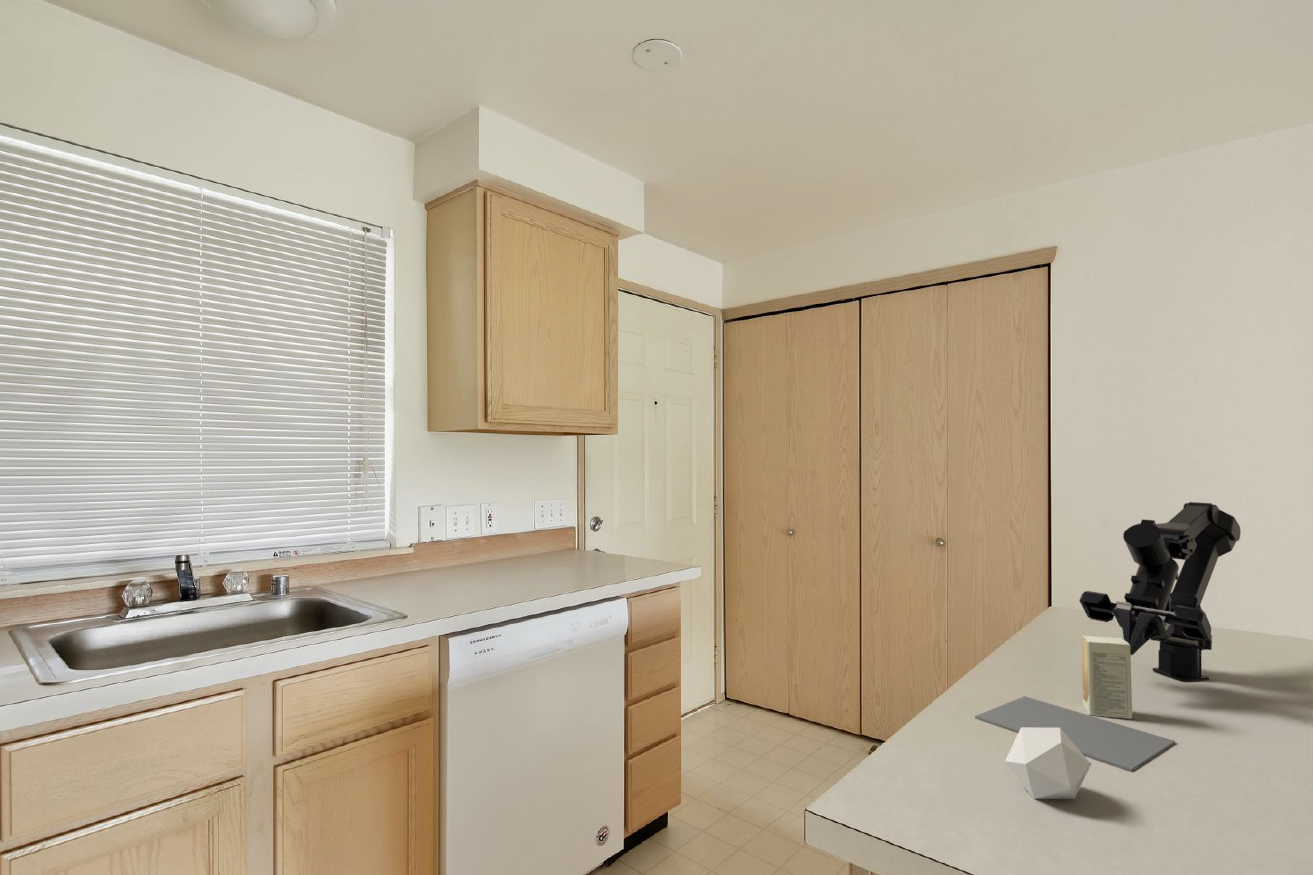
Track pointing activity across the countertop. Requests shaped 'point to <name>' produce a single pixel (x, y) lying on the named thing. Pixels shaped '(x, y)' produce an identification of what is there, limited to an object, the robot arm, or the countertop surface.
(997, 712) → the mat
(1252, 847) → the countertop surface
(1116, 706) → the skincare box
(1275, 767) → the countertop surface
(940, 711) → the countertop surface
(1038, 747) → the die
